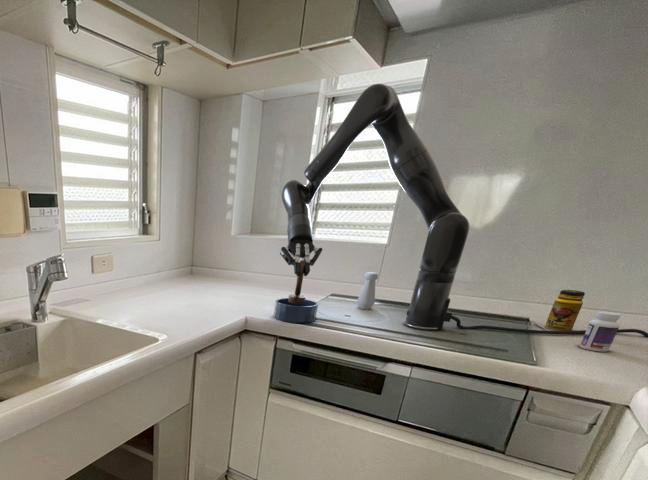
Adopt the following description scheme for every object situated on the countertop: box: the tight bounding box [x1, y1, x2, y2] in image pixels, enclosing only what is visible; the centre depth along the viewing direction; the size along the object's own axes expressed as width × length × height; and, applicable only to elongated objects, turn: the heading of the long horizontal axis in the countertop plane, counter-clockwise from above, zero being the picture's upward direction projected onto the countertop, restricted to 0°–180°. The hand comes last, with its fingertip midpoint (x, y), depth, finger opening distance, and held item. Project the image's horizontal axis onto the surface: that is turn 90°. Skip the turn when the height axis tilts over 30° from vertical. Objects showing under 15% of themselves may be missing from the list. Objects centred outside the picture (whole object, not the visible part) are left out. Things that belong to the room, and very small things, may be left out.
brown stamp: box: [287, 259, 306, 304], centre depth 130 cm, size 5×5×13 cm
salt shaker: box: [356, 271, 379, 310], centre depth 147 cm, size 6×6×13 cm
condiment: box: [535, 289, 586, 331], centre depth 123 cm, size 7×8×12 cm
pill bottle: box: [579, 311, 622, 353], centre depth 105 cm, size 5×5×10 cm
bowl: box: [273, 297, 319, 324], centre depth 133 cm, size 13×13×6 cm
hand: (302, 274), depth 127 cm, fingers closed on brown stamp
